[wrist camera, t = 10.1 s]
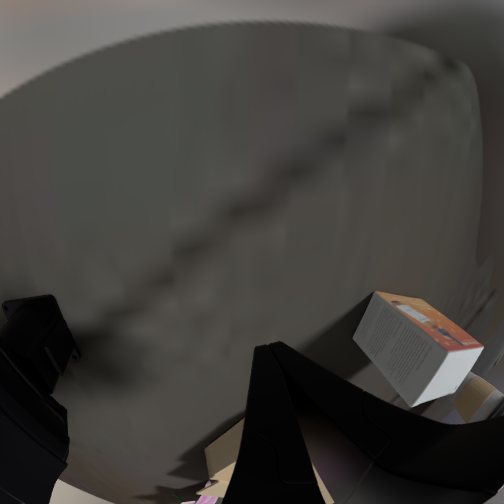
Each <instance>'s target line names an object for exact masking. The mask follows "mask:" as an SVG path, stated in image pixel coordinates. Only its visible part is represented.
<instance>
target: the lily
mask: <svg viewBox="0 0 504 504" xmlns="http://www.w3.org/2000/svg"><path fill="white" fill-rule="evenodd" d="M209 485H211V482H210V481H209V480H208V482H207V484H206V486H205V487H207V486H209ZM174 495H175V497H176V498H177V499H178V500H179V501H180V502H181V504H215V502H216V500H217V499H218V497H215V496H207V495H201V497H200V499H199V500H198V501H190V502H182V501H181V500H180V499H179V498H178V497H177V496H176V494H174Z"/></svg>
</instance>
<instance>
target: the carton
mask: <svg viewBox="0 0 504 504" xmlns="http://www.w3.org/2000/svg"><path fill="white" fill-rule="evenodd" d="M244 418H245V417H244ZM244 418H243V419H242V420H241V421H240V422H238V423H237V424H236V425H235V426H233V427H232V428H231V429H230V430H228V431H227V432H226V433H224V434H223V435H222V436H220V437H219V438H218V439H216V440H215V441H214V442H212V443H211V444H210V445H208V447H206V448H205V449H204V450H205V456H206V462H207V467H208V473H209V478H210V479H214V480H218V481H216V482H214V483H213V484H211V485H209V486H207V487H205V488H203V489H201V490H199V491H197V492H196V494H200V495H207V496H215V497H224V495H225V493H226V490H227V487H228V485H229V482H230V479H231V476H232V473H233V470H234V467H235V463H236V460H237V457H238V452H239V447H240V442H241V437H242V430H243V424H244ZM311 463H312V462H311Z"/></svg>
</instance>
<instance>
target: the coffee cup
mask: <svg viewBox="0 0 504 504" xmlns="http://www.w3.org/2000/svg"><path fill="white" fill-rule="evenodd" d="M447 397H448V398H449V399H450V401H451V402H452V403H453V406H454V407H455V409H456V410H457V412H458V413H459V414H460V415H461V417H462V418H463V420H464V421H465V423H471V422H477V421H481V420H486V419H491V418H495V417H499V416H503V415H504V395H503V394H502V393H500V392H499V391H498V390H497V389H496V388H495V387H493V386H492V385H490V384H489V383H488V382H486V381H485V380H483V379H482V378H480V377H479V376H476V375H475V374H473V373H472V372H470V371H469V372H468V374H467V375H466V377H465V378H464V380H463V381H462V383H461V384H460V385H459V387H458V388H457V390H456V391H455V392H454V393H452V394H448V395H447Z"/></svg>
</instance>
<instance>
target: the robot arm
mask: <svg viewBox="0 0 504 504" xmlns="http://www.w3.org/2000/svg"><path fill="white" fill-rule="evenodd" d="M49 300H51V302H52V303H51V302H50V301H49ZM6 306H7V307H6ZM2 308H3V311H4V313H5V315H6V318H7V320H8V321H7V322H6V323H5V324H4V326H3V327H2V328H1V330H0V504H49V502H50V498H51V494H52V491H53V488H54V485H55V483H56V481H57V479H58V477H59V476H60V474H61V473H62V472H63V471H64V470H65V468H66V467H67V463H66V460H67V457H68V453H69V444H70V438H69V436H68V423H67V409H66V408H65V407H63V406H62V405H60V404H59V403H58V402H57V401H56V400H55V399H54V398H53V397H52V396H51V395H50V394H52V393H53V391H54V388H55V385H56V383H57V380H58V378H59V376H62V375H63V373H64V370H65V368H66V366H67V363H68V362H77V361H79V360H80V358H81V354H80V352H79V350H78V348H77V346H76V343H75V341H74V339H73V337H72V335H71V332H70V330H69V328H68V326H67V323H66V321H65V320H64V318H63V316H62V313H61V311H60V308H59V306H58V303H57V301H56V299H55V297H54V296H53V295H50V294H49V295H42V296H36V297H29V298H23V299H16V300H10V301H5V302H4V303H3V304H2ZM74 355H75V356H74ZM76 356H77V357H76ZM311 462H312V463H311ZM312 464H313V466H314V467H315V469H316V471H317V473H318V475H319V476H320V478H321V480H322V482H323V484H324V485H325V487H326V489H327V491H328V492H329V494H330V496H331V498H332V499H333V501H334V503H335V504H504V415H503V416H499V417H495V418H491V419H486V420H481V421H477V422H471V423H466V424H447V423H443V422H439V421H436V420H433V419H430V418H427V417H424V416H421V415H418V414H415V413H413V412H410V411H407V410H405V409H402V408H400V407H397V406H395V405H392V404H390V403H388V402H386V401H384V400H382V399H380V398H378V397H376V396H374V395H372V394H370V393H368V392H366V391H363V389H361V388H359V387H357V386H355V385H354V384H352V383H350V382H348V381H347V380H345V379H343V378H341V377H340V376H338V375H336V374H334V373H333V372H331V371H329V370H328V369H326V368H324V367H323V366H321V365H319V364H317V363H316V362H314V361H312V360H311V359H309V358H308V357H306V356H304V355H303V354H301V353H299V352H298V351H296V350H294V349H293V348H291V347H290V346H288V345H286V344H285V343H283V342H281V341H278V342H274V343H270V344H269V345H266V344H265V345H261V346H256V347H255V348H254V354H253V362H252V369H251V376H250V383H249V390H248V397H247V404H246V411H245V418H244V424H243V430H242V437H241V442H240V447H239V452H238V457H237V460H236V463H235V467H234V470H233V473H232V476H231V479H230V482H229V485H228V487H227V490H226V493H225V495H224V498H223V501H222V504H326V503H325V500H324V498H323V496H322V493H321V491H320V488H319V485H318V481H317V478H316V475H315V472H314V469H313V466H312Z"/></svg>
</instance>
